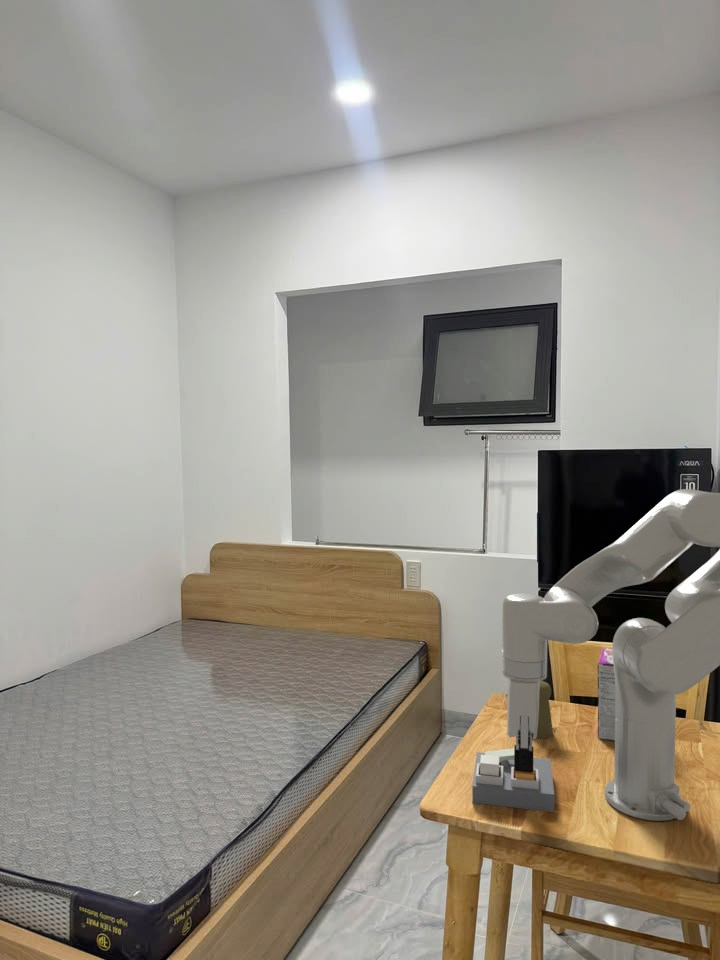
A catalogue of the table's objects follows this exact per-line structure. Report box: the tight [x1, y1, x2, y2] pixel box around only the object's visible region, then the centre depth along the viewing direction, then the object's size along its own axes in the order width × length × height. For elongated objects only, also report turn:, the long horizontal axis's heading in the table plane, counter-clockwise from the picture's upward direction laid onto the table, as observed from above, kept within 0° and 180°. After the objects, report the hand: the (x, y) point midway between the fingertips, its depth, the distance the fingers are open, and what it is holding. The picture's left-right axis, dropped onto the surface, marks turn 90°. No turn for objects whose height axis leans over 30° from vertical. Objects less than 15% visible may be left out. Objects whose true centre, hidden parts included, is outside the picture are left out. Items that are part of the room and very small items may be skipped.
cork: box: [535, 680, 554, 740], centre depth 144 cm, size 6×6×11 cm
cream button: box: [480, 755, 499, 776], centre depth 119 cm, size 3×3×2 cm
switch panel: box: [471, 752, 555, 813], centre depth 121 cm, size 14×13×4 cm
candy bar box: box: [597, 647, 616, 742], centre depth 144 cm, size 11×5×16 cm, turn 155°
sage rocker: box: [484, 748, 514, 761], centre depth 124 cm, size 7×3×1 cm, turn 77°
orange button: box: [515, 766, 534, 780], centre depth 117 cm, size 3×3×2 cm
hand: (523, 769), depth 117 cm, fingers closed
